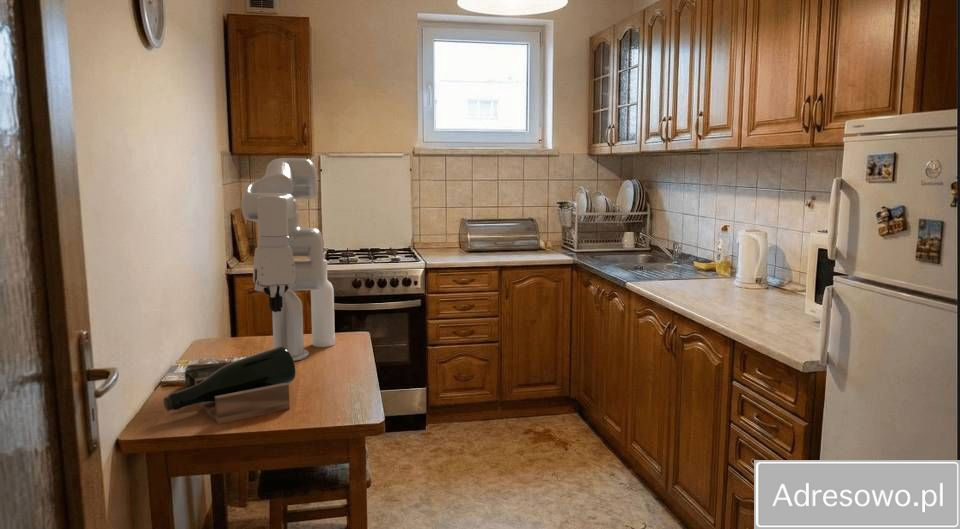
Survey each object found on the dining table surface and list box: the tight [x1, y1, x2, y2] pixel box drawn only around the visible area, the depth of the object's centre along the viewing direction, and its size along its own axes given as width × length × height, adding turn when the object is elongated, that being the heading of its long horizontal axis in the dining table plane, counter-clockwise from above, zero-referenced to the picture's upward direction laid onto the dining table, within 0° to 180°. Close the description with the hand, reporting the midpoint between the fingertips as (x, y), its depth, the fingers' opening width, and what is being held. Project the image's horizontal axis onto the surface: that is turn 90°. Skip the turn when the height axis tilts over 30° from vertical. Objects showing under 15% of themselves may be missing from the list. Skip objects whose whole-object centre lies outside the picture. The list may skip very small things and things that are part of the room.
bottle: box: [310, 259, 336, 348], centre depth 239 cm, size 8×8×30 cm
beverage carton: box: [184, 361, 233, 389], centre depth 196 cm, size 8×19×7 cm, turn 108°
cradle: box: [195, 377, 290, 425], centre depth 179 cm, size 19×18×6 cm
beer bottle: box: [163, 347, 297, 412], centre depth 178 cm, size 10×10×33 cm
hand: (276, 310), depth 182 cm, fingers closed
